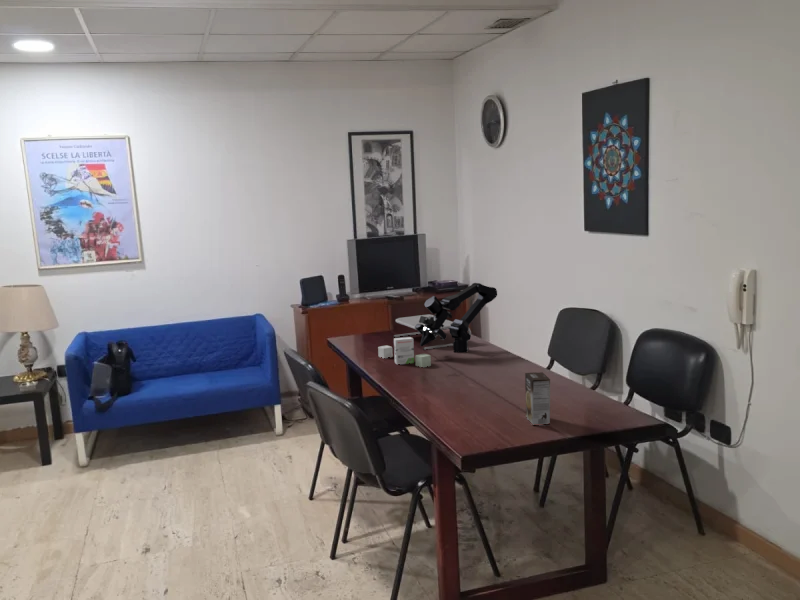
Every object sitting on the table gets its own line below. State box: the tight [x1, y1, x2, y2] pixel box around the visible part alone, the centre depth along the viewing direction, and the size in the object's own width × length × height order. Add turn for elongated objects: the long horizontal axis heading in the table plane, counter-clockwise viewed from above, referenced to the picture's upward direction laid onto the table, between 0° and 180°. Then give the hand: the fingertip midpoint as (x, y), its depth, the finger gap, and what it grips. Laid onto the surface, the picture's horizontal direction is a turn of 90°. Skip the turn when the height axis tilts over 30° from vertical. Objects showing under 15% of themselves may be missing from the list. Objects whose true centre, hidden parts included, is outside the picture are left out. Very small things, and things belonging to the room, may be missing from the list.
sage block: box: [414, 353, 432, 368], centre depth 319 cm, size 5×5×5 cm
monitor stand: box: [393, 314, 472, 351], centre depth 371 cm, size 37×28×11 cm
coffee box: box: [524, 371, 551, 425], centre depth 238 cm, size 9×6×16 cm
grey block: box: [377, 344, 394, 359], centre depth 338 cm, size 5×5×5 cm
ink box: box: [393, 336, 415, 366], centre depth 325 cm, size 9×5×12 cm, turn 103°
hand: (420, 345), depth 330 cm, fingers closed
